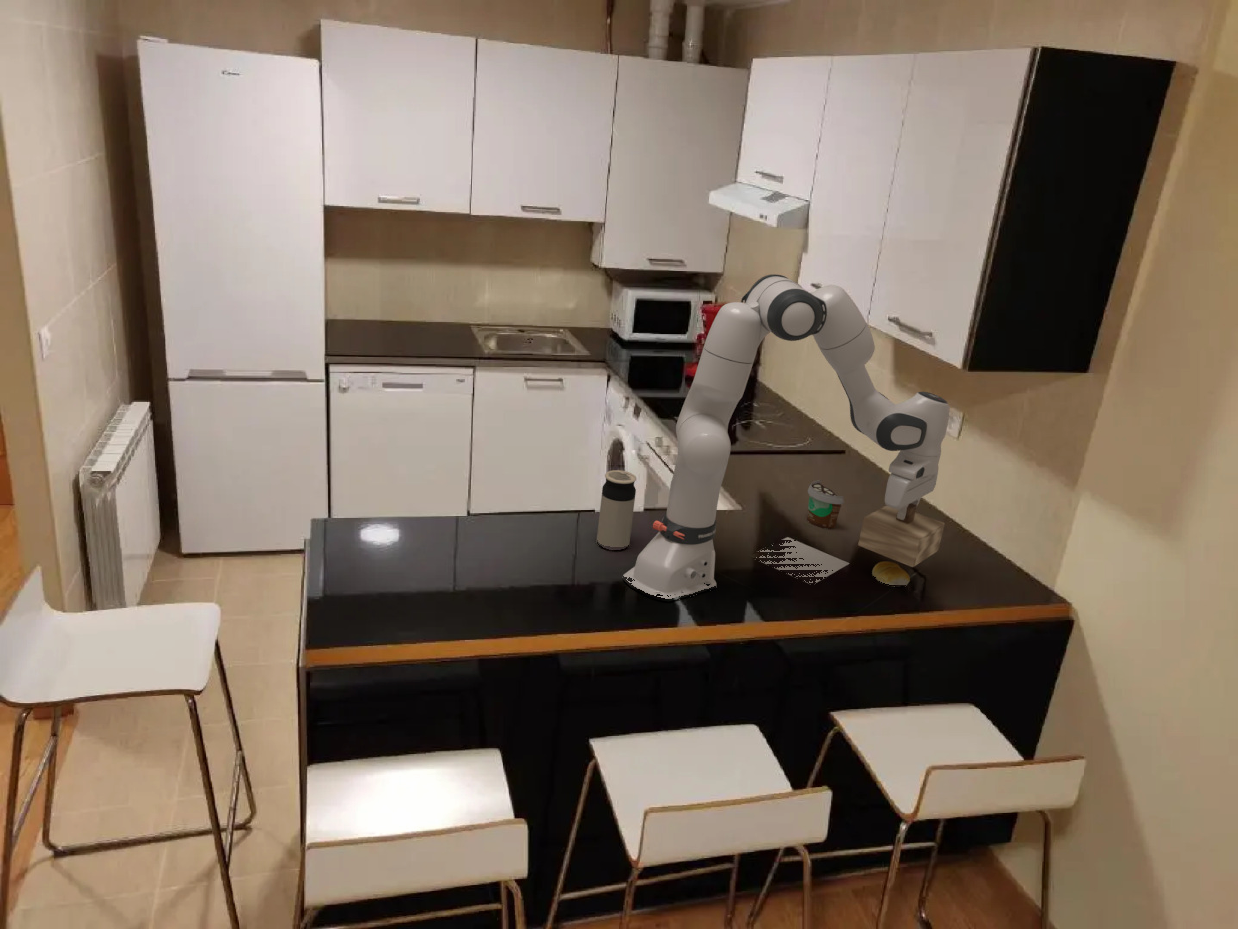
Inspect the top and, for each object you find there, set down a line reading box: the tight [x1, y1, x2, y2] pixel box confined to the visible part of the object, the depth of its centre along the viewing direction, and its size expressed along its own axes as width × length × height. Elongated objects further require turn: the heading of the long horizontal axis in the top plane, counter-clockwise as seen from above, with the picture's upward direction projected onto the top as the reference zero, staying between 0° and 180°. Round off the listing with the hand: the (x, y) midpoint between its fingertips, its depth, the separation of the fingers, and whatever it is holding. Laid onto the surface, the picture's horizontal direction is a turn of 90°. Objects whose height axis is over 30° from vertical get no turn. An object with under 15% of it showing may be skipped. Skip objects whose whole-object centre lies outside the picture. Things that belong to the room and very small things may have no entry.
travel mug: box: [596, 469, 637, 547], centre depth 221 cm, size 8×8×18 cm
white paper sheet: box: [756, 536, 850, 584], centre depth 226 cm, size 18×18×1 cm
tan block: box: [857, 503, 945, 568], centre depth 218 cm, size 14×14×11 cm
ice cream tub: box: [806, 479, 844, 530], centre depth 248 cm, size 12×6×10 cm, turn 21°
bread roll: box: [871, 560, 911, 586], centre depth 222 cm, size 8×9×4 cm
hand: (905, 516), depth 217 cm, fingers closed on tan block, 3 cm apart
